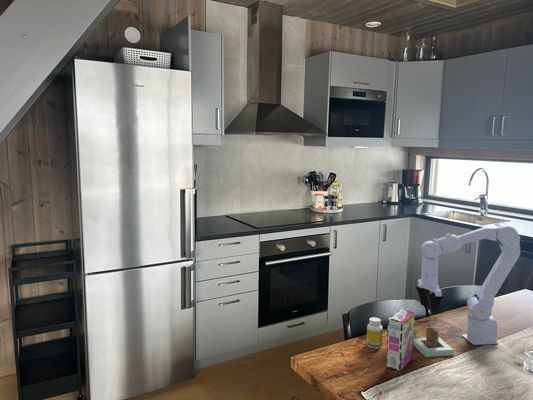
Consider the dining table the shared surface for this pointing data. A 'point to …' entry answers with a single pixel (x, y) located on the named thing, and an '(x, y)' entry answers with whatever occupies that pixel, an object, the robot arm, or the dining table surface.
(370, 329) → the supplement bottle
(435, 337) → the brown wooden peg
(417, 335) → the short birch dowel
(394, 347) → the candy bar box
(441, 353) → the hole board
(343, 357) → the dining table surface
